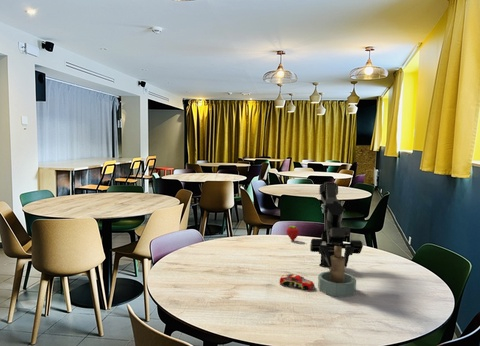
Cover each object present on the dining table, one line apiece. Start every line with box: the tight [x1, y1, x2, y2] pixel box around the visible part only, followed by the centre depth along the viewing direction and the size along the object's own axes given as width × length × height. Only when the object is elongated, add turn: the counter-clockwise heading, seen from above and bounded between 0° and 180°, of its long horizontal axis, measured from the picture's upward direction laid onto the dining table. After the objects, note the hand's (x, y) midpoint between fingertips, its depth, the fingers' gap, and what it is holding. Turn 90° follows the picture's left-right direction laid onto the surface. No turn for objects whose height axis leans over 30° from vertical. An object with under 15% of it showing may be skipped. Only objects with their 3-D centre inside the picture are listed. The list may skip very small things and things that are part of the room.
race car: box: [278, 273, 315, 291], centre depth 135 cm, size 13×5×4 cm, turn 62°
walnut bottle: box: [329, 246, 346, 283], centre depth 132 cm, size 5×5×14 cm
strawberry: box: [286, 225, 300, 242], centre depth 200 cm, size 6×8×10 cm
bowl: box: [317, 270, 357, 298], centre depth 132 cm, size 13×13×4 cm
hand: (338, 266), depth 130 cm, fingers open, 5 cm apart
